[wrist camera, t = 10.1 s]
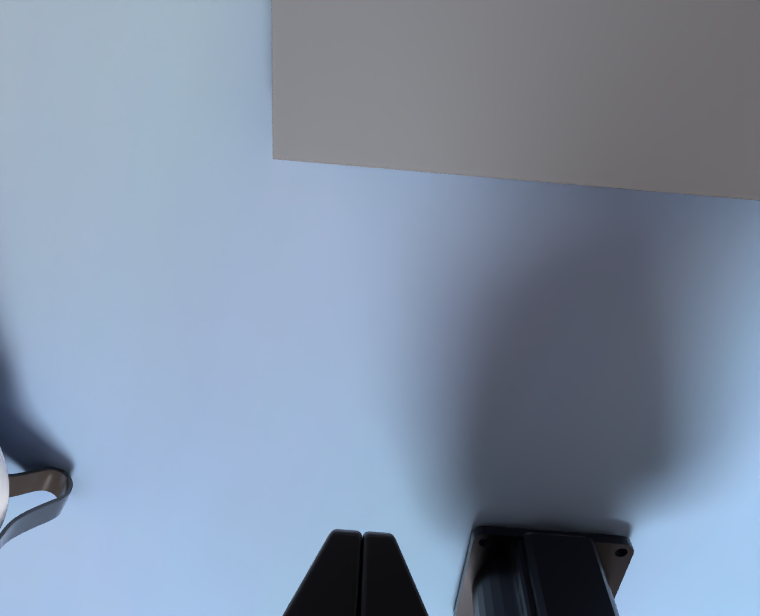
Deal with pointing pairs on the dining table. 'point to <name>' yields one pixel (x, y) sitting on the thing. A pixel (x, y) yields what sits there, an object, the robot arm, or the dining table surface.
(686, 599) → the dining table surface
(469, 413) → the dining table surface
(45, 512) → the coffee press
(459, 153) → the console board
